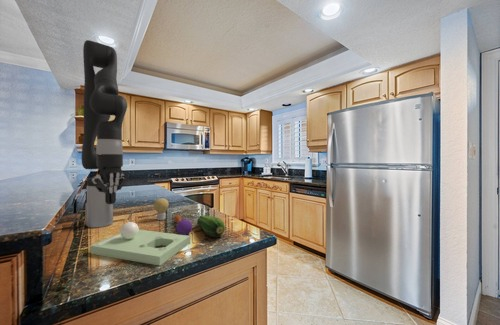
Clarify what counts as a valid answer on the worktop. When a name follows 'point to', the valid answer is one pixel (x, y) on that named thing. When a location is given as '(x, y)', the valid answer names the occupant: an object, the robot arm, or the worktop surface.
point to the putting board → (142, 247)
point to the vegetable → (211, 225)
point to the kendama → (183, 225)
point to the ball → (129, 230)
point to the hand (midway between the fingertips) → (110, 203)
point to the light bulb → (161, 208)
